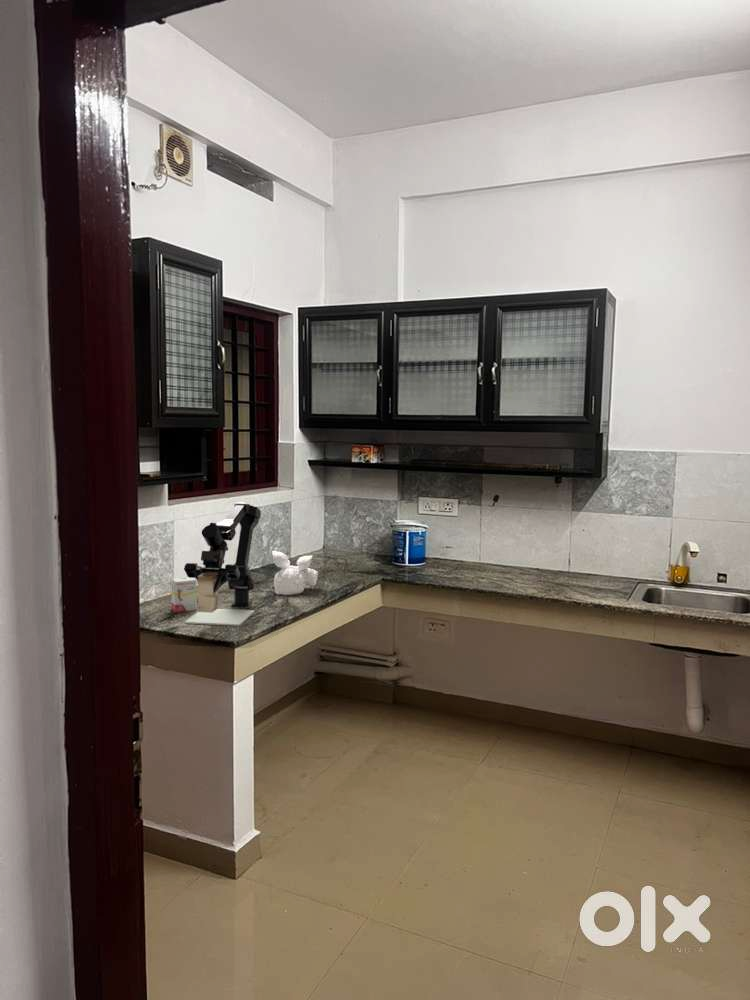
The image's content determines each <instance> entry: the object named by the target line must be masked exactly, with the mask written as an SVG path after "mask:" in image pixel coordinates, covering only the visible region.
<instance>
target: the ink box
mask: <svg viewBox="0 0 750 1000" xmlns="http://www.w3.org/2000/svg"><path fill="white" fill-rule="evenodd" d="M171 610H172V611H173V612H174V613H180V612H189V611H198V583H197V579H196V578H189V577H188V576H187V577H181V578H180V577H179V578H177V577H176V578H172V579H171Z"/></svg>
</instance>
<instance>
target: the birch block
mask: <svg viewBox="0 0 750 1000" xmlns="http://www.w3.org/2000/svg"><path fill="white" fill-rule="evenodd" d="M217 577H218V573H202V574H201V575H199V576H198V583H197V612H207V613H213V612H214V611H215V610H216V609H219V589H218V590H217V591H216V592H215V593H214V592H213V591H214V586H215V583H216V580H217Z"/></svg>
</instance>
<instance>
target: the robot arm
mask: <svg viewBox="0 0 750 1000" xmlns="http://www.w3.org/2000/svg"><path fill="white" fill-rule="evenodd" d="M261 513H262V512H261V509H260V508H259V507H258V506H253V505H251V504H249V503H247V502H236V503H234V506H233V508H232V509H231V510H230V512H229V513H228V514H227V516H226V517H225V519H223V520H221V521H219V522H217V523H216V522H210V523H209V524H208V525H206V526H205V527H203V529H202V530H201V535H202V537H203V539H204V541H205V542H206V544H207V546H208V547H209V550H202V551H201V557H200V561H202V565H203V566H200V565H198V563H195V562H194V563H193V562H187V563H185V565H184V567H183V570H184V572H185V574H186V576H187V578H188V577H189V578H195V579H196V581H197V584H198V576H199V575H201V574H202V573H218V577H217V580H216V583H215V586H214V591H213V592H214V593H215V592H216V591H217V590H218V591H219V589H220V588H221V587H222V586H223V585H224V584H226V583H228V589H229V590H233V595H234V596H233V600H234V602H233V603H231V606H232V607H233V606H234V607H248V606H250V605H251V604H252V603H253V600H252V601H251V600H250V591H253V590H254V588H255V581H254V579H253V578H252V575H251V574H252V572H251V569H250V566H249V560H250V554H251V548H252V546H251V545H252V539H253V534H254V533H253V532H254V529H255V528H256V527H257V525H259V521H260V518H261ZM238 525H240V533H239V539H238V546H237V550H236V551H237V552H236V558H235V563H233V564H229V563H228V564H225V555H226V553H227V551H229V547H228V543H227V541H232V540H234V538H235V536H236V533H237V532H236V528H237V526H238ZM223 564H225V566H224V568H223Z"/></svg>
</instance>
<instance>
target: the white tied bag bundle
mask: <svg viewBox="0 0 750 1000" xmlns="http://www.w3.org/2000/svg"><path fill="white" fill-rule="evenodd" d="M271 553H272V554H271V555H272V560H273V562H274V565H275V566H276V567H277V568H280V570H279V571H277V572H276V573H275V574H274V581H273V583H274V584H273V585H274V591H275V593H276V595H283V596H290V595H291V596H292V595H298V594H301V593H303V592H304V590H305V587H307V586H306V583H307V584H308V585H309V586H315V585H316V584H317V582H318V574H319V571H317V570H316V569H314V568H310V566H311V562H312V559H313V557H314V555H304V556H300V557H299V558H298V559H297V560H296V565H291V561H290V560H289V557H288V555H287V554H285V553H284V552H282V551H277V550H272V551H271Z"/></svg>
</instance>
